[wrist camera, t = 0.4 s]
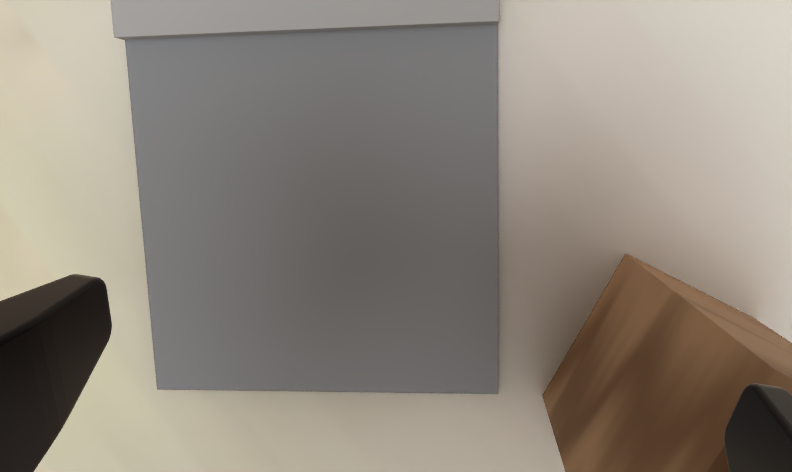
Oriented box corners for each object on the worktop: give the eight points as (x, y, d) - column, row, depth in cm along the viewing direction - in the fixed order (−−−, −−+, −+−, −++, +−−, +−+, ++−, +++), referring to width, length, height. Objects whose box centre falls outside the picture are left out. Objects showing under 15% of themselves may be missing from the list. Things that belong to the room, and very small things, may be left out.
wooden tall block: (666, 458, 26) (852, 760, 14) (542, 395, 26) (616, 639, 14) (756, 319, 25) (1050, 513, 12) (625, 253, 25) (790, 380, 12)
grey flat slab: (497, 389, 26) (499, 402, 25) (161, 385, 28) (148, 397, 26) (496, -18, 24) (498, -25, 22) (126, 0, 25) (109, -6, 24)
